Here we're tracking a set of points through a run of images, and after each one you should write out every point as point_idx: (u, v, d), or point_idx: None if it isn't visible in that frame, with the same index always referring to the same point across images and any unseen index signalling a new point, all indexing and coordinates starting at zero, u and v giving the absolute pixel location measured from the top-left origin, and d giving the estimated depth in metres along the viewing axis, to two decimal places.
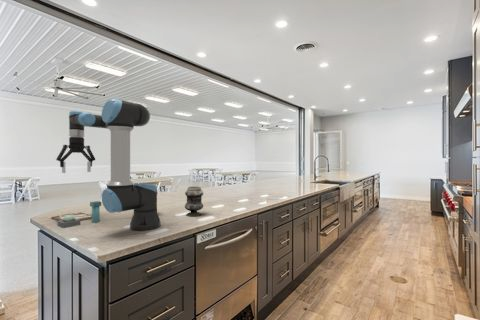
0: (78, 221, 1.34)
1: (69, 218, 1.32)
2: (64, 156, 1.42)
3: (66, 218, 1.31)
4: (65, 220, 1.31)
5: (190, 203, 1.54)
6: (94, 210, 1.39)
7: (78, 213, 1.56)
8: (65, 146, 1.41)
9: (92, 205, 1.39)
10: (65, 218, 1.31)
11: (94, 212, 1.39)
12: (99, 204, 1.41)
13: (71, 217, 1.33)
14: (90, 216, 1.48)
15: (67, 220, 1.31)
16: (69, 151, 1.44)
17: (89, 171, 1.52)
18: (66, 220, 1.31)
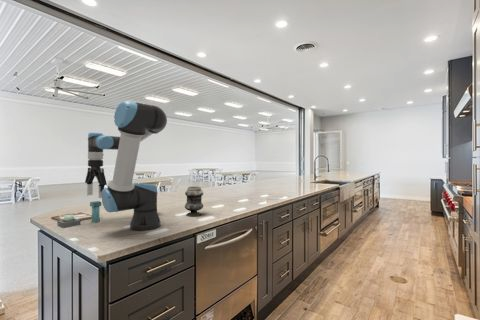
0: (78, 221, 1.34)
1: (69, 218, 1.32)
2: None
3: (66, 218, 1.31)
4: (65, 220, 1.31)
5: (190, 203, 1.54)
6: (94, 210, 1.39)
7: (78, 213, 1.56)
8: (88, 169, 1.44)
9: (92, 205, 1.39)
10: (65, 218, 1.31)
11: (94, 212, 1.39)
12: (99, 204, 1.41)
13: (71, 217, 1.33)
14: (90, 216, 1.48)
15: (67, 220, 1.31)
16: None
17: None
18: (66, 220, 1.31)
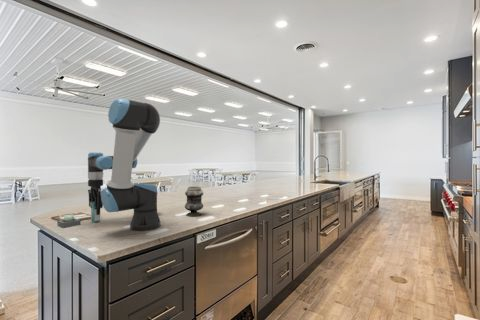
0: (78, 221, 1.34)
1: (69, 218, 1.32)
2: None
3: (66, 218, 1.31)
4: (65, 220, 1.31)
5: (190, 203, 1.54)
6: (94, 210, 1.39)
7: (78, 213, 1.56)
8: (88, 191, 1.43)
9: (92, 205, 1.39)
10: (65, 218, 1.31)
11: (94, 212, 1.39)
12: None
13: (71, 217, 1.33)
14: (90, 216, 1.48)
15: (67, 220, 1.31)
16: None
17: None
18: (66, 220, 1.31)
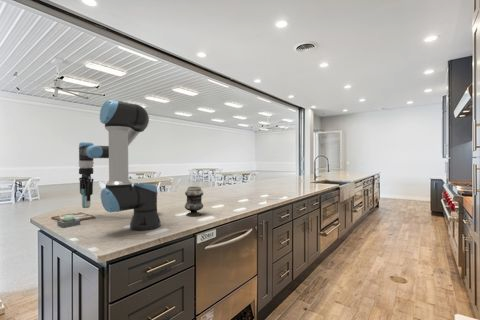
0: (78, 221, 1.34)
1: (69, 218, 1.32)
2: None
3: (66, 218, 1.31)
4: (65, 220, 1.31)
5: (190, 203, 1.54)
6: (84, 196, 1.48)
7: (78, 213, 1.56)
8: (79, 179, 1.52)
9: (83, 192, 1.48)
10: (65, 218, 1.31)
11: (84, 198, 1.48)
12: None
13: (71, 217, 1.33)
14: (90, 216, 1.48)
15: (67, 220, 1.31)
16: None
17: (85, 205, 1.48)
18: (66, 220, 1.31)
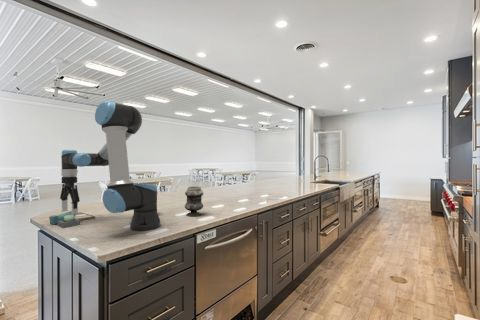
0: (78, 221, 1.34)
1: (69, 218, 1.32)
2: None
3: (66, 218, 1.31)
4: (65, 220, 1.31)
5: (190, 203, 1.54)
6: None
7: (78, 213, 1.56)
8: (62, 185, 1.45)
9: None
10: (65, 218, 1.31)
11: None
12: (56, 217, 1.34)
13: (71, 217, 1.33)
14: (90, 216, 1.48)
15: (67, 220, 1.31)
16: None
17: None
18: (66, 220, 1.31)
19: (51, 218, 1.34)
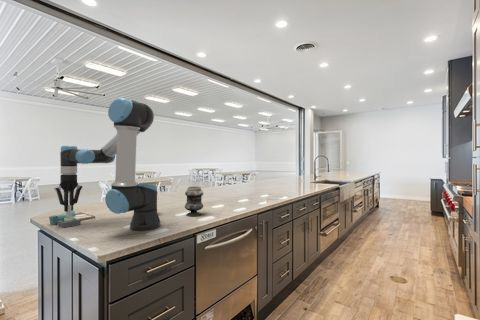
0: (78, 221, 1.34)
1: (69, 220, 1.32)
2: (65, 199, 1.32)
3: (66, 220, 1.31)
4: None
5: (190, 203, 1.54)
6: None
7: (78, 213, 1.56)
8: (57, 189, 1.28)
9: None
10: (65, 220, 1.31)
11: None
12: (56, 217, 1.34)
13: (71, 219, 1.33)
14: (90, 216, 1.48)
15: None
16: (65, 192, 1.32)
17: (69, 216, 1.33)
18: None
19: (51, 218, 1.34)
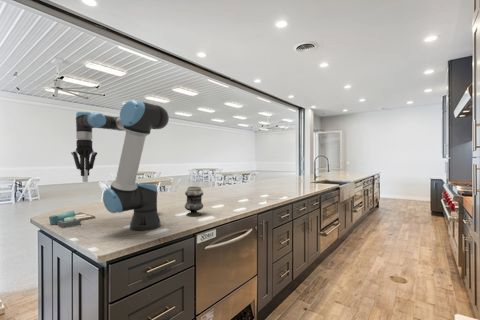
0: (78, 221, 1.34)
1: (69, 220, 1.32)
2: (81, 164, 1.35)
3: (66, 220, 1.31)
4: None
5: (190, 203, 1.54)
6: None
7: (78, 213, 1.56)
8: (74, 153, 1.31)
9: None
10: (65, 220, 1.31)
11: None
12: (56, 217, 1.34)
13: (71, 219, 1.33)
14: (90, 216, 1.48)
15: None
16: (81, 157, 1.35)
17: (86, 181, 1.36)
18: None
19: (51, 218, 1.34)
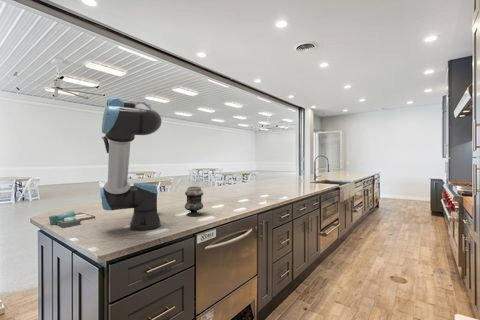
0: (78, 221, 1.34)
1: (69, 220, 1.32)
2: None
3: (66, 220, 1.31)
4: None
5: (190, 203, 1.54)
6: None
7: (78, 213, 1.56)
8: (105, 138, 1.39)
9: None
10: (65, 220, 1.31)
11: None
12: (56, 217, 1.34)
13: (71, 219, 1.33)
14: (90, 216, 1.48)
15: None
16: None
17: None
18: None
19: (51, 218, 1.34)
